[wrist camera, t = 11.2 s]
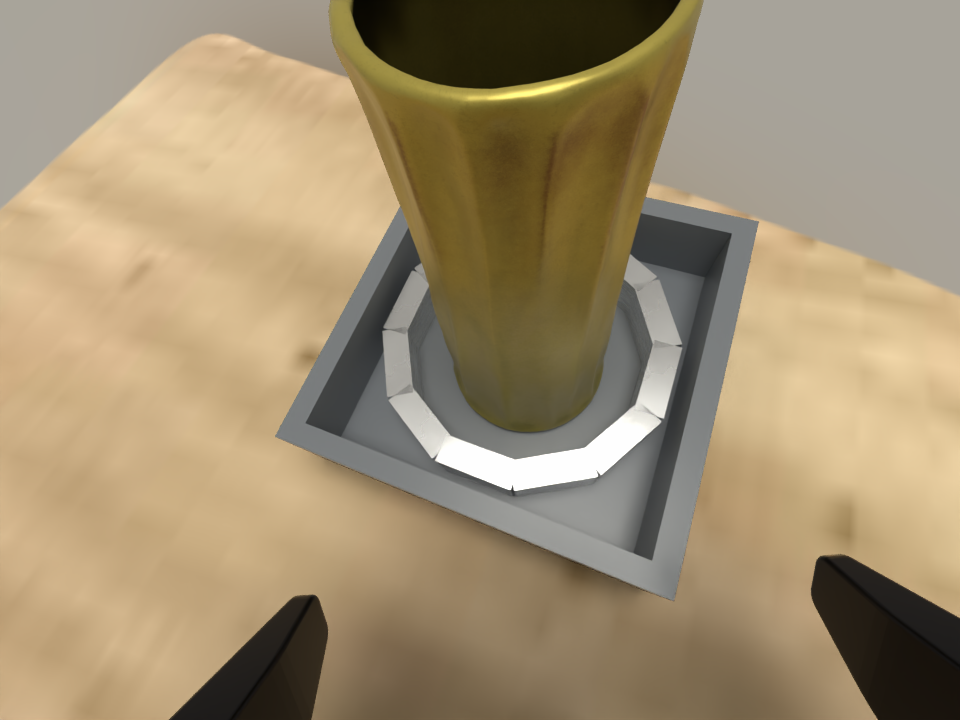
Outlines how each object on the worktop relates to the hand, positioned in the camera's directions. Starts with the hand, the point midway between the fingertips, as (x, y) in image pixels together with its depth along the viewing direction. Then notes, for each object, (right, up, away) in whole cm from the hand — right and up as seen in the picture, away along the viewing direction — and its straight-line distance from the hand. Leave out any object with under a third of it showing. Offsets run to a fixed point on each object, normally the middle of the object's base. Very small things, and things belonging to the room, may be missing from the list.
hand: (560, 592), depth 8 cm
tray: (+1, +4, +12) cm, 13 cm away
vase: (+1, +4, +11) cm, 12 cm away
